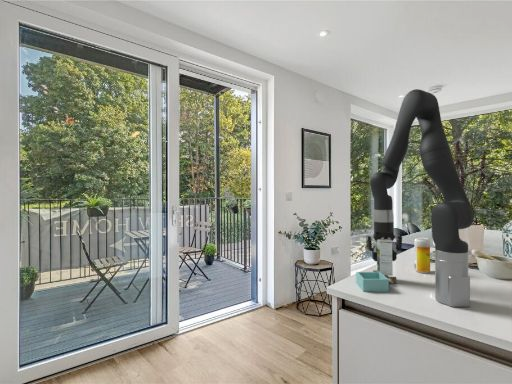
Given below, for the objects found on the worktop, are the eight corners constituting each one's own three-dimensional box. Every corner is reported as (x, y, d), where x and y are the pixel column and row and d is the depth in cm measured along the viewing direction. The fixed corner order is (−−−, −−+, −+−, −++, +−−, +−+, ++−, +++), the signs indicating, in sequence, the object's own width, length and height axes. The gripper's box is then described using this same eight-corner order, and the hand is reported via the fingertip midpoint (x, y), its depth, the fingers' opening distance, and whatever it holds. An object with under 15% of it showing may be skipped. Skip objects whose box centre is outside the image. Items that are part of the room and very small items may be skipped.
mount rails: (399, 285, 112) (399, 279, 112) (383, 285, 112) (383, 279, 112) (387, 276, 124) (387, 270, 124) (373, 276, 125) (372, 270, 125)
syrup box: (376, 271, 123) (375, 237, 123) (391, 272, 121) (390, 237, 121) (377, 275, 118) (376, 239, 117) (393, 276, 116) (392, 239, 115)
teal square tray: (388, 291, 107) (388, 279, 107) (363, 291, 107) (363, 279, 107) (379, 283, 116) (379, 271, 116) (356, 283, 116) (356, 272, 116)
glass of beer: (433, 273, 126) (432, 239, 126) (419, 274, 126) (418, 239, 126) (425, 269, 132) (425, 237, 132) (411, 269, 132) (411, 237, 132)
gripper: (368, 221, 116) (369, 263, 116) (405, 221, 115) (406, 262, 115) (362, 219, 123) (363, 258, 123) (397, 219, 122) (398, 258, 123)
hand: (384, 260), depth 119 cm, fingers closed on syrup box, 6 cm apart
